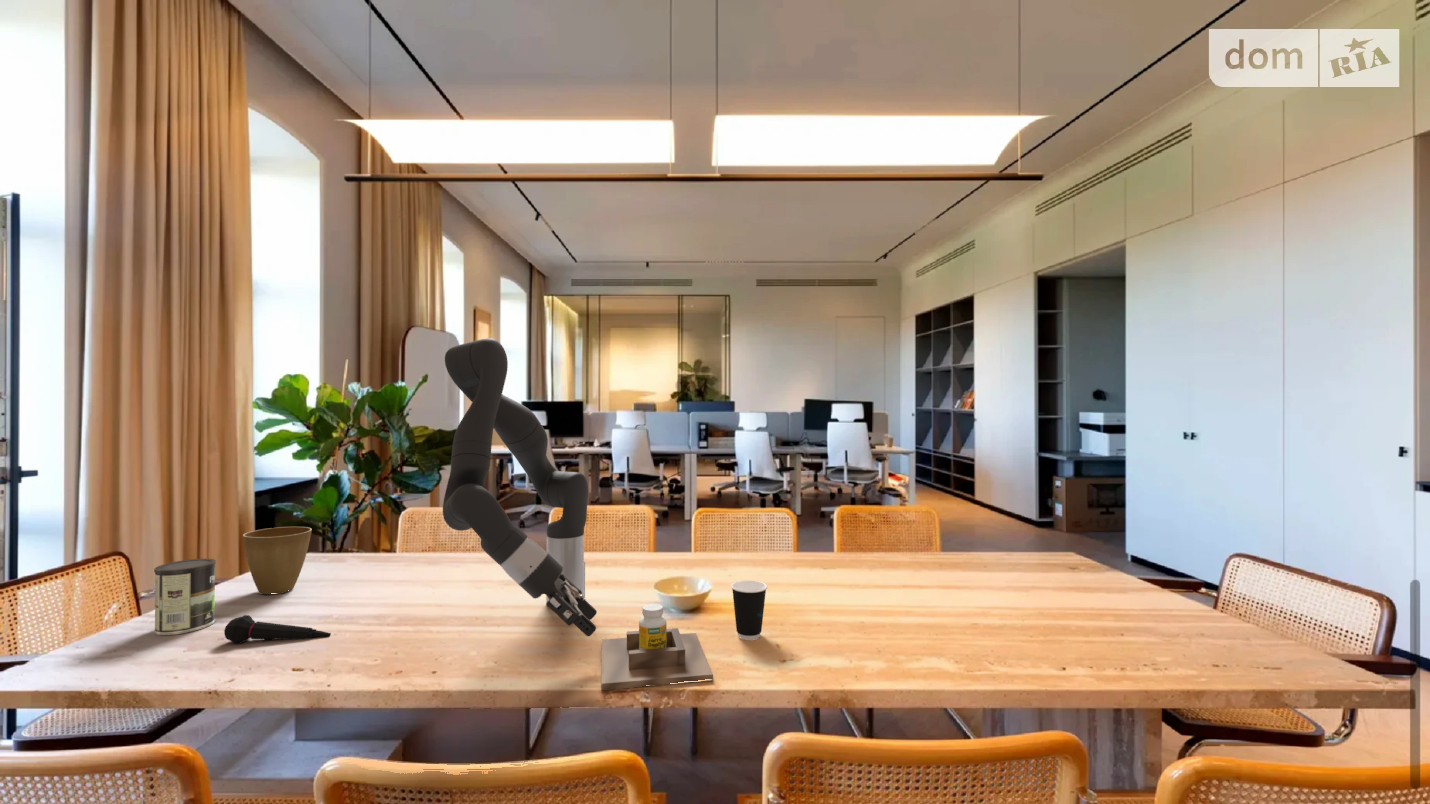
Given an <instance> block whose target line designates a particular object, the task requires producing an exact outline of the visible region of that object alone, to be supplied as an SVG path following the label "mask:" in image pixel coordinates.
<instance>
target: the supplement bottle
mask: <svg viewBox="0 0 1430 804" xmlns="http://www.w3.org/2000/svg"><path fill="white" fill-rule="evenodd" d="M641 611H642V616H641V617H640V619H639V621H638V631H639V650H644V649H658V648H666V629H667V618H666V617H665V616H664V606H663V605H662V604H659V603H649V604H645V605H643V606H642V610H641Z"/></svg>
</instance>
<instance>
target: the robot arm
mask: <svg viewBox="0 0 1430 804" xmlns="http://www.w3.org/2000/svg"><path fill="white" fill-rule="evenodd" d="M507 355H508V354H507V352H506V349H504V346H503V345H502V344H501V342H500V341H498V340H497V339H494V338H490V337H487V338H482V339H477V340H473V341H469V342H466V343H465V342H464V343H462V344H458V345H455V346H452V347H451V348H448V350H446V352H445V354H444V366H445V368H446V371H447V373H448V375H449V377H450V378H451V380H452V381H453V383H454V385H456V386H457V388H458V389H460V391H461V392H462V393H463V394H464V395H465V396H466V398H467V399H468V400H469V401H470V402H471V404H470V406H469V408H468V409H467V411H465V412H466V413H464V415H463V417H462V419H461V420H460V422H459V423H458V426H457V428H456V430H455V432H454V436H453V440H452V450H451V458H450V471H449V477H448V480H447V485H446V489H445V492H444V497H443V504H442V516H443V520H444V521H445V524H446V525H447V526H448V527H449V528H451V529H453V530H455V531H467V530H470V529H472V530H473V532H474V533H475V534H476V535H477V536H478V537H479V538H480V547H481V548H482V550H483V551H484V552H485V553H486V554H487V555H488V556H489V557H490V558H492V560H493V561H495V563H497V564H498V565H499V566H500V567H501V569H503V571H504V572H505V573H506V574H507V575H508V577H510V578H511V579H512V580H513V581H514V582H515V583H516V584H517V585H518V586H519V587H521V589H523V590H524V591H525V592H526V593H527V594H528V595H529V596H530V597H532V599H535V600H536V599H539V598H540V597H542V595H545V596H546V598H545V602H546V606H547V607H548V608H549V609H550V610H552V611H553V612H554V613H555V614H556V615H557V616H558V617H559V618H560V619H561V620H562V621H563V622H564V623H565V624H566V625H567V626H568V627H570V626H573V625H574V626H575V627H577V628H578V630H579V631H581V633H583V634H584V635H585V636H586V637H590V636H592V635H593V633H594V632H595V631H597V625H595V623H593V621H592V620H593V618H594V617H595V616H596V615H597V610H596V608H594V607H593V606H592V605H591V604H590V603H589V602H588V601H587V600H586V599H585V598H586V562H585V526H586V523H587V518H588V517H587V516H588V499H589V498H588V497H589V485H588V481H587V478H586V476H585V475H584V474H583V473H581V472H576V471H563V470H562V471H560V470H557V468H555V467H554V466H553V465H552V463H551V462H550V460H549V458H548V456H547V451H548V444H549V441H548V440H549V439H548V433H547V432H546V430H545V428H544V427H543V425H542V424H541V422H540V421H539V419H538V417H537V416H536V414H535V413H534V412H533V411H532V410H531V409H529V408H528V407H526V406H525V405H523V404H521V403H519V402H518V401H517V400H515V399H512V398H510V397H508V396H506V395H504V394H503V390H504V388H505V387H504V386H505V383H506V379H507V374H508V368H509V367H508V364H509V363H508V356H507ZM494 430H495V432H496V434H497V435H498V437H499V438H500V439H501V441H502V443H503V444H504V445H505V446H506V447H507V449H508V451H509V452H510V453H511V454H512V455H513V457H514V458H515V459H516V461H517V462H518V463H519V465H520V466H521V468H522V469H523V470H524V472H525V473H526V475H527V476H528V478H529V480H530V482H531V484H532V486H533V487H534V489H535V490H536V493H537V495H538V496H539V498H540V499H541V500H542V502H543V503H544V504H545V505H547V506H549V507H551V508H561V509H562V513H561V517H560V519H558V520H554V521H552V522H549V523H548V524H547V527H546V550H545V549H544V548H543V547H542V546H541V545H540V544H539V543H537V542H536V541H535V540H533V539H532V538H531V537H529V536H528V535H527V534H526V533H525V532H524V531H523V530H522V529H521V528H520V527H518V526H517V525H516V524H515V523H514V522H512V520H511V519H510V517H509V515H508V514H507V512H506V511H505V510H504V508H503V507H502V505H501V504H500V502H499V501H498V500H497V498H496V497H495V496H494V495H493V494H492V493H491V492H490V491H489V490H488V489H487V488H484V483H485V480H486V478H487V476H488V474H489V471H490V467H491V460H492V459H491V456H492V445H493V434H494Z"/></svg>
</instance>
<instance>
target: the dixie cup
mask: <svg viewBox="0 0 1430 804" xmlns="http://www.w3.org/2000/svg"><path fill="white" fill-rule="evenodd" d="M730 587H731V589H732V590H731V591H732V599H733V609H734V618H735V628H736V629H735V631H736V632H737V637H738V636H739V637H741V638H742V639H741V638H740V639H741V640H744V639H747V640H746V641H754V640H753V639H756V640H758V639H759V638H760V637H761V633H762V628H763V619H764V610H765V600H766V593H767V592H766V591H767V589H768V585H767V584H766V583H764V582H762V581H759V580H751V579H748V580H747V579H746V580H739V581H737V580H736V581H735V582H733V583H731V585H730ZM739 637H738V638H739ZM758 637H759V638H758ZM757 638H758V639H757ZM751 639H752V640H751Z"/></svg>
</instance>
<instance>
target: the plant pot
mask: <svg viewBox="0 0 1430 804" xmlns="http://www.w3.org/2000/svg"><path fill="white" fill-rule="evenodd" d="M311 535H312V528H311V527H308V526H279V527H273V528H272V527H270V528H262V529H257V530H253V531H247V532H246V533H244V534H242V541H243V546H244V552H245V557H246V561H247V565H248V568H249V572H250V575H251V577H252V580H253V583H254V584H255V587H256V589H257V592H258V593H259V594H260V593H261V594H260V595H262V594H271V593H280V594H283V593H282V592H285V591H288V590H291V591H293V589H294V588H295V586H296V584H297V581H298V579H299V577H300V574H301V572H302V569H303V567H304V563H305V559H306V557H307V552H308V549H309V546H310V541H311ZM288 592H289V591H288ZM285 593H286V592H285Z"/></svg>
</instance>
